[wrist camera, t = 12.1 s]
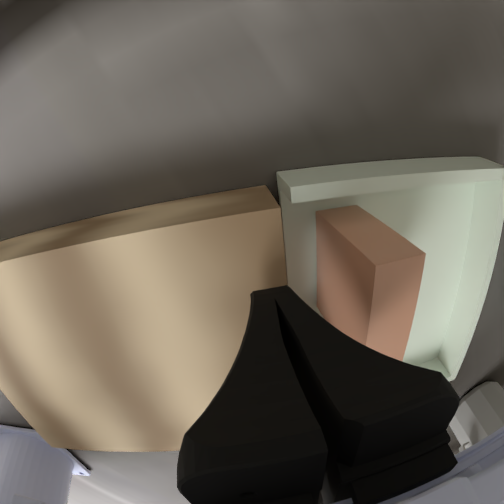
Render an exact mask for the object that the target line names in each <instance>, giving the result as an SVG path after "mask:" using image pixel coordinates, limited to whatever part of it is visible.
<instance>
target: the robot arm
mask: <svg viewBox="0 0 504 504" xmlns="http://www.w3.org/2000/svg"><path fill="white" fill-rule="evenodd" d="M250 297H251V305H250V312H249V318H248V322H247V326H246V330H245V334H244V337H243V340H242V343H241V346H240V349H239V351H238V354H237V356H236V358H235V361H234V363H233V365H232V367H231V369H230V371H229V373H228V375H227V377H226V379H225V380H224V382H223V384H222V386H221V387H220V389H219V391H218V392H217V393H216V395H215V396H214V398H213V399H212V401H211V402H210V404H209V405H208V407H207V408H206V409H205V411H204V412H203V413H202V414H201V416H200V417H199V418H198V419H197V420H196V421H195V423H194V424H193V425H192V426H191V427H190V428H189V429H188V431H187V432H186V433H185V434H184V437H183V440H182V444H181V448H180V452H179V457H178V464H177V488H178V490H179V491H180V493H181V494H182V495H183V496H184V497H185V498H186V499H187V500H188V501H189V502H190V503H191V504H318V499H319V493H320V490H321V494H322V499H323V503H324V504H503V503H504V426H503V427H501V428H500V429H498V430H497V431H495V432H494V433H492V434H491V435H489V436H487V437H486V438H484V439H482V440H481V441H479V442H477V443H476V444H474V445H472V446H471V447H469V448H467V449H465V450H463V451H462V452H460V453H458V454H456V455H454V454H453V452H452V450H451V449H450V447H449V445H448V443H449V442H450V436H449V434H448V433H447V431H446V429H447V427H448V425H449V424H450V422H451V420H452V419H453V417H454V415H455V413H456V411H457V409H458V407H459V403H460V398H459V396H458V395H457V393H456V392H455V390H454V389H453V387H452V386H451V384H450V383H449V381H448V380H447V379H446V378H445V377H444V375H443V374H442V373H441V372H439V371H435V370H431V369H427V368H423V367H419V366H415V365H411V364H408V363H405V362H403V361H400V360H397V359H394V358H391V357H389V356H387V355H384V354H382V353H380V352H377V351H375V350H373V349H371V348H369V347H367V346H365V345H363V344H361V343H359V342H357V341H356V340H354V339H352V338H351V337H349V336H347V335H346V334H344V333H343V332H341V331H340V330H338V329H337V328H336V327H334V326H333V325H332V324H330V323H329V322H328V321H326V320H325V319H324V318H323V317H321V316H320V315H319V314H318V313H317V312H315V311H314V310H313V309H312V308H311V307H310V306H309V305H307V304H306V303H305V302H304V301H303V300H302V299H301V298H300V297H299V296H298V295H297V294H296V293H295V292H294V291H293V290H292V289H291V288H290V287H289V286H288V285H285V286H279V287H274V288H268V289H262V290H257V291H253V292H252V293H251V294H250ZM90 473H91V472H90V471H89V470H88V469H87V468H86V467H85V466H84V465H83V464H81V463H80V462H79V461H78V460H77V459H76V458H75V457H74V456H73V455H72V454H71V453H70V452H69V451H68V450H67V449H64V448H55V447H51V446H50V445H49V444H48V443H47V442H46V441H45V440H44V439H43V438H42V437H41V436H40V435H39V434H38V433H37V432H36V430H35V429H26V428H19V427H12V426H6V425H0V504H67V502H68V496H69V490H70V484H71V478H72V474H76V475H85V476H90Z"/></svg>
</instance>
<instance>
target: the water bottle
mask: <svg viewBox="0 0 504 504" xmlns="http://www.w3.org/2000/svg"><path fill="white" fill-rule="evenodd" d="M449 425H450V427H451V429H452V431H453V432H454V434H455V436H456V437H457V439H458V441H459V442H460V444H461V447H460V448H459V451H460V452H462V451H463V450H465V449H467V448H469V447H471V446H472V445H474V444H476V443H477V442H479V441H481V440H482V439H484V438H486V437H487V436H489V435H491V434H492V433H494V432H495V431H497V430H498V429H500V428H501V427H503V426H504V390H503V388H502V387H501V386H500V385H499V383H498V382H489V381H487V382H485V383H483V384H481V385H479V386H477V387H475V388H474V389H472V390H471V391H470V392H469V393H467V394H466V395H465V396H464V397H463V398H462V399H461V400H460V403H459V407H458V409H457V411H456V413H455V415H454V417H453V419H452V420H451V422H450V424H449ZM503 504H504V503H503Z"/></svg>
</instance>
